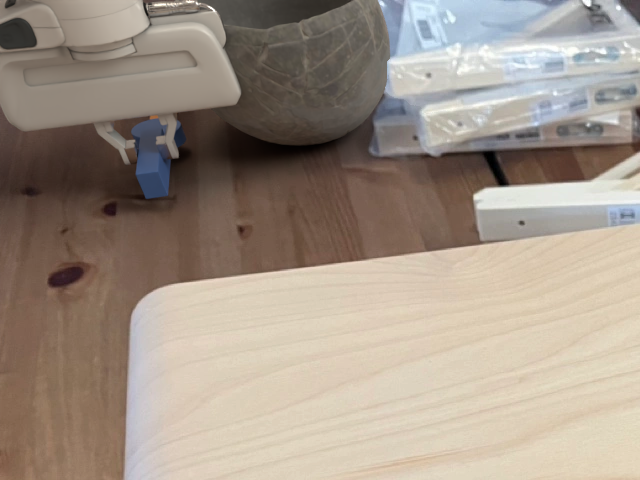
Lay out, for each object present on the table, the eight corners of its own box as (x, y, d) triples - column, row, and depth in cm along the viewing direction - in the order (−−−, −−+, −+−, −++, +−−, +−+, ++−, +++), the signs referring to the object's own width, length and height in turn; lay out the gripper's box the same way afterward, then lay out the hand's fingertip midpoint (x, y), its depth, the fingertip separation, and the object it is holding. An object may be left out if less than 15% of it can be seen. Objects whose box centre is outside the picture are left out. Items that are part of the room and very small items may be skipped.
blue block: (183, 193, 98) (173, 169, 96) (130, 201, 97) (119, 176, 95) (187, 129, 108) (178, 106, 106) (138, 136, 107) (128, 112, 105)
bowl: (184, 125, 112) (128, -24, 101) (356, 79, 121) (322, -62, 110) (258, 195, 101) (205, 37, 90) (441, 138, 110) (412, -11, 100)
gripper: (214, -15, 94) (262, 131, 104) (-31, 9, 89) (43, 160, 99) (214, 7, 90) (264, 157, 100) (-43, 35, 85) (36, 189, 95)
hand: (152, 159), depth 100 cm, fingers closed on blue block, 2 cm apart
